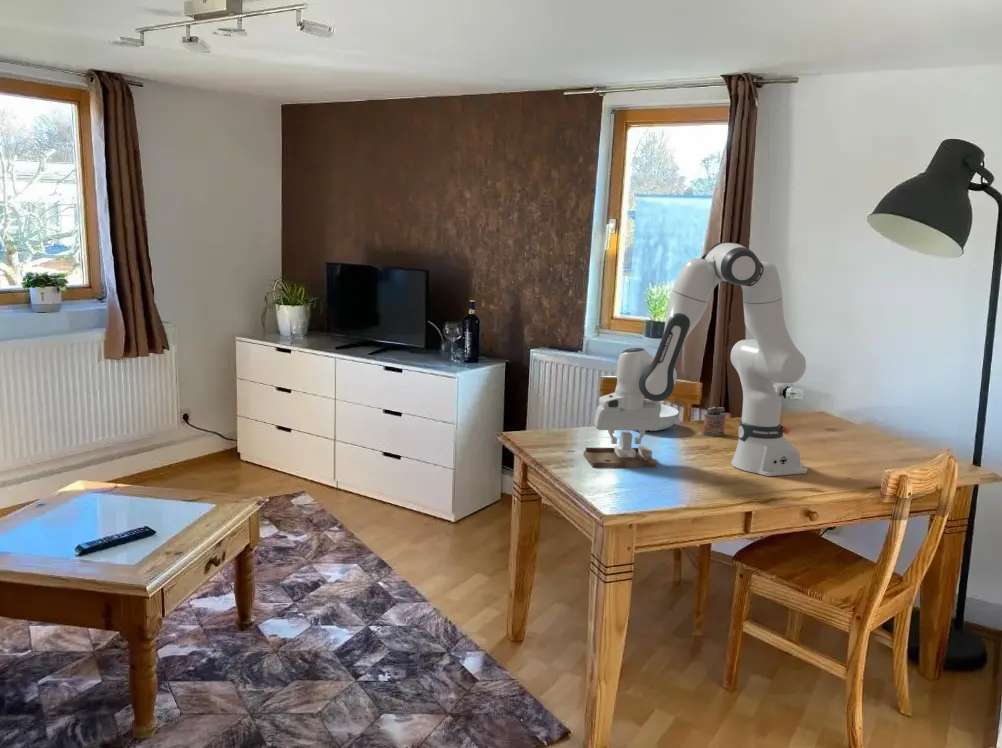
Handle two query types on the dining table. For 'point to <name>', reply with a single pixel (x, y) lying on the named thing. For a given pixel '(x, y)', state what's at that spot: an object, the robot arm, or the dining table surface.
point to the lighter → (714, 422)
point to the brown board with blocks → (612, 460)
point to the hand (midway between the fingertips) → (625, 443)
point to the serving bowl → (667, 417)
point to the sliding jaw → (625, 446)
